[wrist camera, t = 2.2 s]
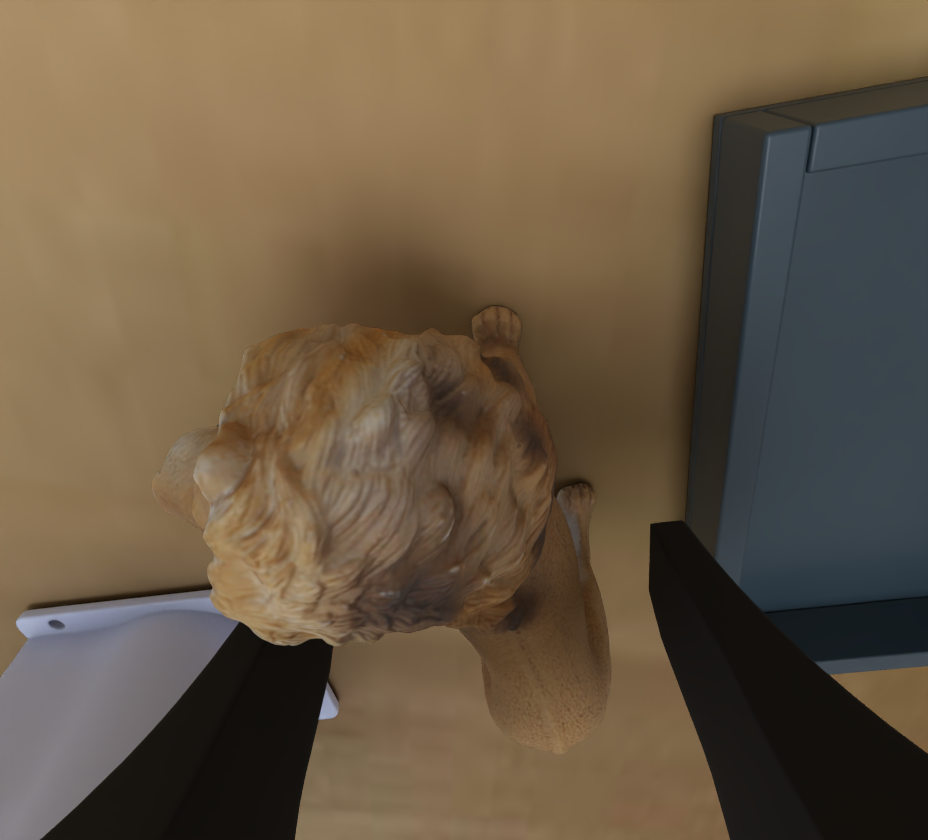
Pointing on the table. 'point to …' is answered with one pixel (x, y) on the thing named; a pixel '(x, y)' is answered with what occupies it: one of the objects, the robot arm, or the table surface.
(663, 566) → the robot arm
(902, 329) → the tray
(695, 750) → the table surface
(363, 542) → the lion figurine
